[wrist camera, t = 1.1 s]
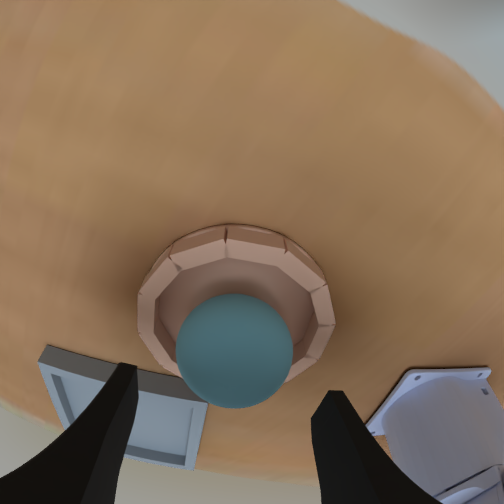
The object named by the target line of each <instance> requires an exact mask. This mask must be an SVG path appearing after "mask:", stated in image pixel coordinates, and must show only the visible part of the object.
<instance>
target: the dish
mask: <svg viewBox="0 0 504 504" xmlns="http://www.w3.org/2000/svg"><path fill="white" fill-rule="evenodd" d="M224 294H244V295H249V296H252V297H255V298H258V299H260V300H262V301H264V302H265V303H267V304H268V305H270V306H271V307H272V308H273V309H275V310H276V311H277V312H278V314H279V315H280V316H281V317H282V319H283V320H284V322H285V323H286V325H287V327H288V329H289V332H290V335H291V339H292V343H293V358H292V365H291V368H290V371H289V374H288V376H287V378H286V379H285V381H284V382H285V383H287V382H288V381H289V380H291V379H292V378H294V377H295V376H297V375H298V374H300V373H301V372H303V371H304V370H306V369H307V368H308V367H310V366H311V365H313V364H314V363H315V362H317V361H318V359H320V357H321V355H322V353H323V351H324V349H325V347H326V345H327V343H328V341H329V339H330V336H331V334H332V332H333V330H334V328H335V326H336V325H335V324H336V321H335V317H334V312H333V307H332V303H331V298H330V294H329V289H328V285H327V282H326V280H325V277H324V274H323V272H322V270H321V268H320V267H319V266H318V265H317V264H316V263H315V261H314V260H313V259H312V257H311V256H310V255H309V254H308V253H307V252H306V251H305V250H304V249H303V248H302V247H300V246H299V245H298V244H296V243H295V242H294V241H292V240H290V239H289V238H287V237H285V236H283V235H281V234H279V233H276V232H274V231H271V230H269V229H265V228H261V227H257V226H250V225H243V224H226V225H218V226H212V227H208V228H204V229H200V230H197V231H195V232H192V233H190V234H187V235H186V236H184V237H182V238H180V239H179V240H177V241H176V242H174V243H173V244H172V245H170V246H169V247H168V248H167V249H166V250H165V251H164V252H163V253H162V254H161V255H160V256H159V257H158V259H157V260H156V262H155V263H154V265H153V266H152V268H151V271H150V272H149V273H148V274H147V275H146V277H145V279H144V281H143V283H142V285H141V287H140V290H139V292H138V332H139V333H138V334H139V336H140V337H141V339H142V340H143V342H144V343H145V345H146V346H147V347H148V349H149V350H150V352H151V353H152V355H153V356H154V357H155V359H156V360H157V362H158V363H159V364H160V365H162V367H163V368H165V369H167V370H168V371H170V372H172V373H174V374H176V375H177V376H179V377H181V378H182V376H181V373H180V371H179V369H178V365H177V360H176V341H177V336H178V333H179V330H180V328H181V325H182V324H183V322H184V320H185V319H186V317H187V316H188V315H189V314H190V313H191V311H192V310H193V309H194V308H196V307H197V306H198V305H200V304H201V303H203V302H204V301H206V300H208V299H210V298H212V297H215V296H219V295H224Z"/></svg>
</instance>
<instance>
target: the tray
mask: <svg viewBox="0 0 504 504" xmlns="http://www.w3.org/2000/svg"><path fill="white" fill-rule="evenodd" d="M38 364H39V367H40V370H41V373H42V376H43V379H44V381H45V384H46V387H47V389H48V392H49V394H50V397H51V399H52V402H53V404H54V407H55V409H56V411H57V414H58V416H59V418H60V420H61V423H62V425H63V427H64V429H65V430H66V429H67V428H68V427H69V426H70V425H71V424H72V423H73V422H74V421H75V420H76V419H77V417H78V416H79V415H80V414H81V413H82V412H83V411H84V410H85V409H86V407H87V406H88V405H89V404H90V403H91V401H92V400H93V399H94V397H95V396H96V395H97V394H98V392H99V391H100V390H101V389H102V387H103V386H104V384H105V383H106V382H107V380H108V379H109V377H110V376H111V375H112V373H113V372H114V370H115V368H116V367H117V364H113V363H109V362H105V361H101V360H97V359H94V358H90V357H86V356H83V355H79V354H76V353H72V352H69V351H65V350H62V349H59V348H56V347H52V346H49V345H47V346H46V348H45V349H44V351H43V353H42V355H41V356H40V358H39V360H38ZM137 375H138V392H139V400H138V405H137V410H136V415H135V420H134V424H133V427H132V431H131V434H130V437H129V440H128V444H127V447H126V450H125V454H124V457H126V458H129V459H134V460H138V461H143V462H147V463H152V464H158V465H163V466H168V467H174V468H180V469H186V470H194V467H195V462H196V457H197V452H198V448H199V443H200V438H201V434H202V429H203V424H204V419H205V415H206V410H207V405H208V402H207V401H205V400H203V399H202V398H200V397H199V396H198V395H196V394H195V393H194V392H193V391H192V390H191V389H190V388H189V387H188V385H187V384H186V383H185V381H184V379H183V378H179V377H173V376H168V375H163V374H158V373H153V372H148V371H143V370H139V369H137Z"/></svg>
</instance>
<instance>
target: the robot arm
mask: <svg viewBox="0 0 504 504" xmlns="http://www.w3.org/2000/svg"><path fill="white" fill-rule="evenodd" d="M490 373H491V369H490V368H489V367H484V368H464V369H412V370H409V371H408V372H406V373H405V375H404V376H403V378H402V379H401V380H400V382H399V383H398V384H397V386H396V387H395V389H394V390H393V391H392V393H391V394H390V395H389V396H388V398H387V399H386V400H385V402H384V403H383V404H382V405H381V407H380V408H379V409H378V411H377V412H376V413H375V414H374V415H373V417H372V418H371V419H370V420H369V422H368V423H367V424H366V425H365V424H364V423H363V421H362V420H361V418H360V417H359V415H358V414H357V412H356V410H355V409H354V407H353V406H352V404H351V403H350V401H349V400H348V398H347V396H346V395H345V393H344V392H343V391H334V390H329V391H328V392H327V394H326V395H325V397H324V399H323V400H322V402H321V404H320V405H319V407H318V408H317V410H316V411H315V413H314V414H313V416H312V418H311V433H312V444H313V450H314V456H315V461H316V467H317V472H318V478H319V483H320V489H321V502H322V504H504V409H503V408H502V406H501V404H500V402H499V400H498V399H497V397H496V395H495V393H494V392H493V390H492V388H491V387H490V385H489V383H488V382H487V380H486V379H487V377H488V376H489V375H490ZM138 400H139V392H138V375H137V366H135V365H131V364H126V363H122V362H121V363H119V364H118V365H117V367H116V368H115V370H114V372H113V373H112V375H111V376H110V377H109V379H108V380H107V382H106V383H105V384H104V386H103V387H102V389H101V390H100V391H99V392H98V394H97V395H96V396H95V397H94V399H93V400H92V401H91V403H90V404H89V405H88V406H87V407H86V409H85V410H84V411H83V412H82V413H81V414H80V415H79V416H78V417H77V419H76V420H75V421H74V422H73V423H72V424H71V425H70V426H69V427H68V428H67V429H66V430H65V431H64V432H63V433H62V434H61V435H60V436H59V437H58V438H57V439H56V440H54V441H53V442H52V443H51V444H50V445H49V446H47V447H46V448H45V449H44V450H43V451H41V452H40V453H39V454H38V455H36V456H35V457H33V458H32V459H30V460H29V461H28V462H26V463H25V464H23V465H22V466H21V467H19V468H17V469H16V470H14V471H12V472H10V473H9V474H7V475H5V476H3V477H1V478H0V504H114V501H115V494H116V487H117V481H118V476H119V471H120V467H121V464H122V460H123V457H124V454H125V450H126V447H127V444H128V440H129V437H130V434H131V431H132V427H133V424H134V420H135V415H136V410H137V405H138ZM376 435H385V436H386V439H387V443H388V446H389V449H390V453H391V456H392V459H393V461H392V460H391V459H390V457H389V456H388V455H387V454H386V453H385V451H384V450H383V449H382V448H381V446H380V445H379V444H378V442H377V441H376V440H375V438H374V437H373V436H376Z"/></svg>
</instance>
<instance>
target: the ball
mask: <svg viewBox="0 0 504 504" xmlns="http://www.w3.org/2000/svg"><path fill="white" fill-rule="evenodd" d="M292 358H293V343H292V339H291V335H290V332H289V329H288V327H287V325H286V323H285V322H284V320H283V319H282V317H281V316H280V315H279V314H278V312H277V311H276V310H275V309H273V308H272V307H271V306H270V305H268V304H267V303H265V302H264V301H262V300H260V299H258V298H255V297H252V296H249V295H244V294H224V295H219V296H215V297H212V298H210V299H208V300H206V301H204V302H203V303H201V304H200V305H198V306H197V307H196V308H194V309H193V310H192V311H191V313H190V314H189V315H188V316H187V317H186V319H185V320H184V322H183V324H182V325H181V328H180V330H179V333H178V336H177V341H176V360H177V365H178V369H179V371H180V373H181V376H182V378H183V379H184V381H185V383H186V384H187V385H188V387H189V388H190V389H191V390H192V391H193V392H194V393H195V394H196V395H198V396H199V397H200V398H202V399H203V400H205V401H207V402H209V403H211V404H213V405H216V406H220V407H224V408H245V407H250V406H253V405H256V404H258V403H261V402H263V401H265V400H266V399H268V398H269V397H270V396H272V395H273V394H274V393H275V392H276V391H277V390H278V389H279V388H280V387H281V385H282V384H283V383H284V381H285V379H286V378H287V376H288V374H289V371H290V368H291V365H292Z"/></svg>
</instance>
